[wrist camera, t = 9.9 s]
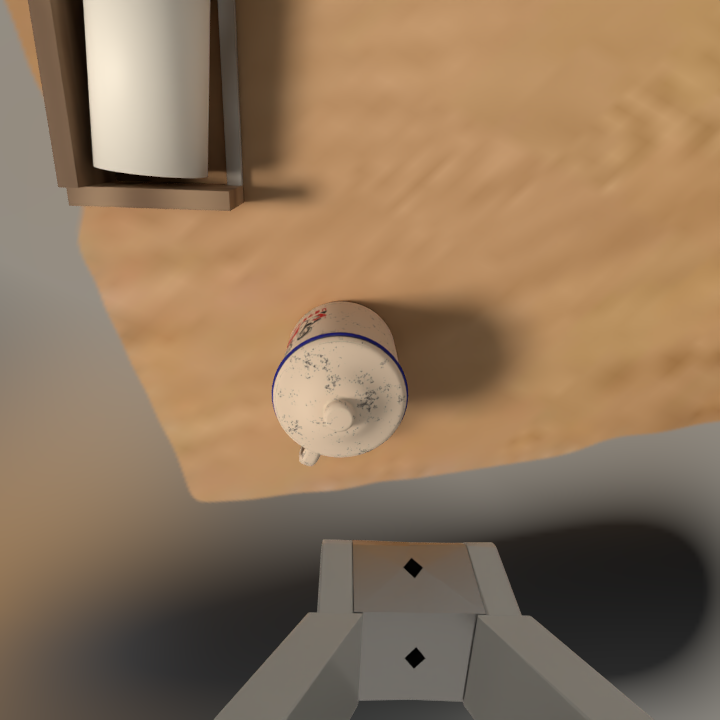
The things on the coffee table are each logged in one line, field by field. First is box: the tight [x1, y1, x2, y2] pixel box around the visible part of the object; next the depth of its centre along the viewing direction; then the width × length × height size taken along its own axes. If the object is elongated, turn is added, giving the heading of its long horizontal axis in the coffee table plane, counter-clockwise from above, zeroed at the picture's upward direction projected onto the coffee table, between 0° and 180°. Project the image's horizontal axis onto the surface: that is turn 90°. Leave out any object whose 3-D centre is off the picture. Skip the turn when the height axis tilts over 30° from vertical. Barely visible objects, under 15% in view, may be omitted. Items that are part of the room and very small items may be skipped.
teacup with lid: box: [272, 301, 408, 466], centre depth 40 cm, size 12×9×12 cm
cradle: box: [28, 0, 244, 211], centre depth 34 cm, size 10×16×6 cm, turn 178°
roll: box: [83, 0, 210, 178], centre depth 34 cm, size 12×7×7 cm, turn 173°
